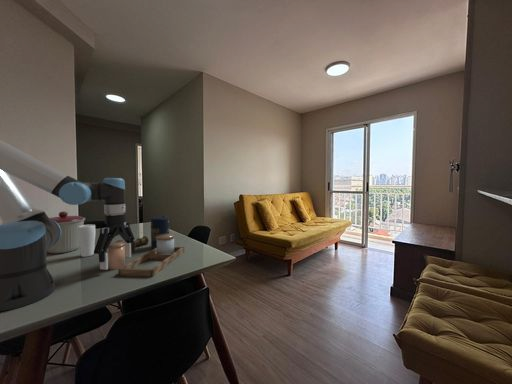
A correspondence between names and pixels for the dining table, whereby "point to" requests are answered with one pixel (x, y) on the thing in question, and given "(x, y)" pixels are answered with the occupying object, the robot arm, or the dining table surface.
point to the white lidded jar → (165, 243)
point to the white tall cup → (86, 239)
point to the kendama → (137, 242)
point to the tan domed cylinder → (116, 255)
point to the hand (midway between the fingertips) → (116, 262)
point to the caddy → (150, 255)
